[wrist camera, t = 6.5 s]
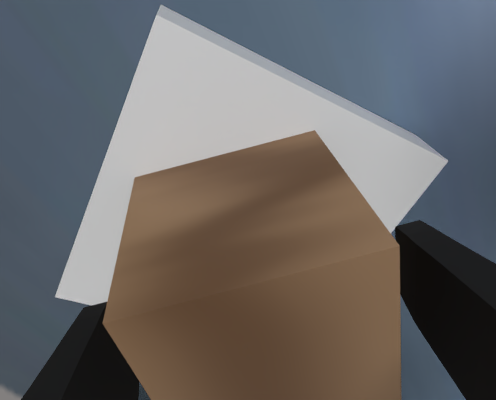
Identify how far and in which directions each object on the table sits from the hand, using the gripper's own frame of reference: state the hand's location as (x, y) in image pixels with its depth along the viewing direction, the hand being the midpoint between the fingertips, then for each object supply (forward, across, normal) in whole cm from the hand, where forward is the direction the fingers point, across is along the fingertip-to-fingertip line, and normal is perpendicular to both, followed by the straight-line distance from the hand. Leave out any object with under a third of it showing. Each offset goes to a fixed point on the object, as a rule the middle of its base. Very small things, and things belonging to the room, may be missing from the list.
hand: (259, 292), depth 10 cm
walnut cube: (+3, 0, 0) cm, 3 cm away
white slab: (+5, 0, 0) cm, 5 cm away
